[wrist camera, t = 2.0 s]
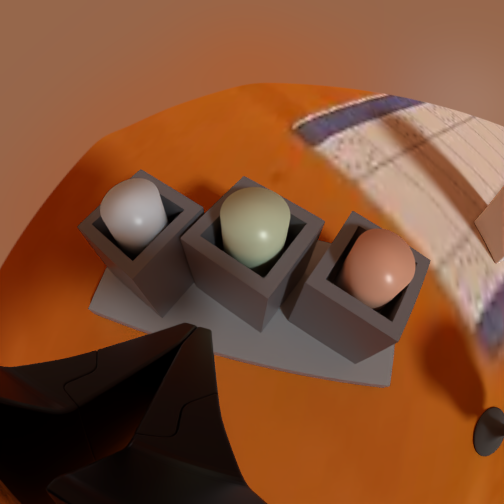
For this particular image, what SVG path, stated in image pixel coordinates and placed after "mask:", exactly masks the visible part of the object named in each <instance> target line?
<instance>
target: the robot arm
mask: <svg viewBox="0 0 504 504" xmlns="http://www.w3.org/2000/svg"><path fill="white" fill-rule="evenodd" d="M0 504H267V503H266V502H265V501H264V500H262V499H261V498H260V497H259V496H258V495H257V494H256V493H255V492H254V491H252V490H251V489H250V487H249V486H248V485H247V483H246V482H245V480H244V478H243V476H242V474H241V472H240V469H239V467H238V464H237V462H236V459H235V456H234V454H233V451H232V448H231V446H230V443H229V440H228V437H227V434H226V431H225V428H224V424H223V421H222V417H221V412H220V406H219V398H218V391H217V382H216V372H215V362H214V352H213V341H212V331H211V330H210V329H207V328H203V327H197V326H196V325H193V324H189V323H181V324H178V325H175V326H172V327H169V328H166V329H163V330H160V331H157V332H154V333H151V334H148V335H145V336H141V337H138V338H135V339H132V340H129V341H125V342H122V343H119V344H116V345H112V346H109V347H106V348H102V349H99V350H98V351H92V352H89V353H85V354H81V355H77V356H73V357H69V358H65V359H60V360H54V361H49V362H43V363H37V364H30V365H24V366H17V367H3V366H0Z"/></svg>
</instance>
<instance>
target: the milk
mask: <svg viewBox="0 0 504 504" xmlns="http://www.w3.org/2000/svg"><path fill="white" fill-rule="evenodd" d="M474 223H475V225H476V226H477V228H478V230H479V232H480V234H481V236H482V237H483V239H484V241H485V243H486V245H487V247H488V249H489V251H490V253H491V255H492V257H493V259H494V261H495V263H496V264H497V263H499V262H502V261H504V186H503V187H502V189H501V190H500V191H499V193H498V194H497V195H496V196H495V198H494V199H493V200H492V201H491V202H490V204H489V205H488V206H487V207H486V208H485V210H484V211H483V212H482V213H481V214H480V215H479V217H478V218H477V219H476V220H475V221H474Z"/></svg>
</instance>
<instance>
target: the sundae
mask: <svg viewBox="0 0 504 504" xmlns="http://www.w3.org/2000/svg"><path fill="white" fill-rule="evenodd" d="M503 438H504V413H503V412H502V410H500V409H499V408H496V407H493V408H490V409H488V410H487V411H485V412H484V413H483V415H482V416H481V417H480V419H479V421H478V423H477V425H476V429H475V433H474V446H475V449H476V451H477V453H478V454H480V455H481V456H488V455H490V454H492V453H494V452H495V451H496V450H497V449H498V447H499V446H500V444H501V443H502V441H503Z"/></svg>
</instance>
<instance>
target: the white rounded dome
mask: <svg viewBox="0 0 504 504" xmlns="http://www.w3.org/2000/svg"><path fill="white" fill-rule="evenodd" d="M100 214H101V217H102V219H103V221H104V222H105V224H106V226H107V227H108V229H109V231H110V232H111V234H112V236H113V237H114V239H115V240H116V242H117V244H118V245H119V247H120V248H121V250H122V251H123V253H124V254H125V255H126V256H128V257H129V258H130V259H131V260H132V261H134V260H135V259H136V257H137V256H138V255H139V254H140V253H141V252H142V251H143V250H144V249H145V248H146V247H147V246H148V245H149V244H150V243H151V242H152V241H153V240H154V239H155V238H156V237H157V236H158V235H159V234H160V233H161V232H162V231H163V230H164V229H165V228H166V227H167V226H168V225H169V221H168V218H167V215H166V213H165V210H164V206H163V203H162V200H161V197H160V194H159V191H158V189H157V187H156V185H155V184H154V183H152V182H151V181H149V180H147V179H143V178H133V179H128V180H125V181H123V182H121V183H119V184H117V185H115V186H114V187H113V188H112V189H110V190H109V191H108V193H107V194H106V195H105V197H104V198H103V200H102V203H101V206H100Z"/></svg>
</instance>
